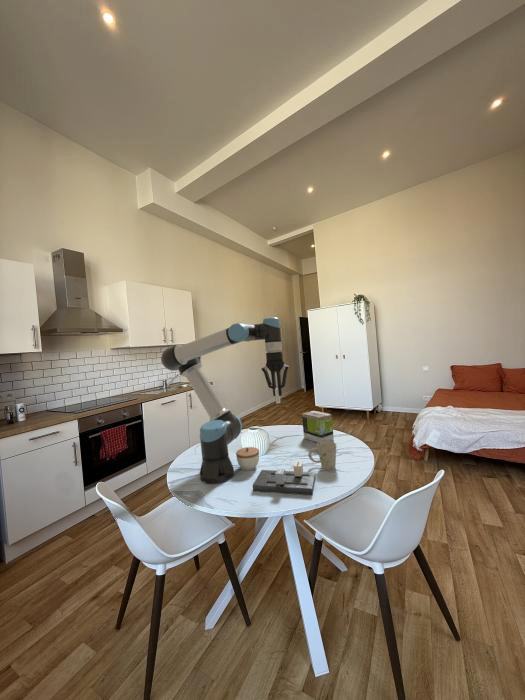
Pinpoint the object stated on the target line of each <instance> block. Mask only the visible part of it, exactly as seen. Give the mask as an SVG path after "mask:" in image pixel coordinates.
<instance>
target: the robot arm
mask: <svg viewBox="0 0 525 700" xmlns="http://www.w3.org/2000/svg"><path fill="white" fill-rule="evenodd" d="M281 331H282V330H281V324H280V319H279V318H278V317H267V318H263V320H262V322H261V323H257V324H256V323H255V324H247V323H242V322H237V323H236V322H235V323H233V324H231V325H230V326H229V327H227V328H225V329H222V330H221V329H220V330H219V331H217V332H214V333H211V334H209V335H206V336H203V337H201V338H198V339H196V340H193V341H190V342H187V343H184V344H177V345H176V344H175V345H173V346H171V347H166V348H165V349H164V350H163V352H162V354H161V357H160V360H161V364H162V365H163V367H164V368H165V369H167V370H168V371H178V372H179V373H180V375H181V377H185V378H186V379H187V381H188V382H189V384H190V386H191V388H192V389H193V391H194V393H195V395H196V397H197V398H198V400H199V401H200V403H201V405H202V407H203V409H204V410H205V411H206V414H207V415H208V416H209V421H207V422H205V423H204V424H202V425H201V426H200V428H199V440H200V449H201V450H200V451H201V456H202V457H201V458H202V461H201V466H200V469H199V470H200V471H199V480H200V482H202V483H204V484H209V485H210V484H212V485H213V484H218V483H219V484H220V483H224V482H226V481H229V480H230V479H231V478H233V476H234V475H235V469H234V466H233V463H232V461H231V459H230V457H229V446H228V445H229V444H231V443H232V442H233V441H234V440H237V438H238V437H239V435H240V434H241V432H242V430H243V424H242V420H241V419H240V417H239V416H237V415H236V414H235V415H234V414H233V413H232V411H231V410H230V409H228V408H226V407H225V405H224V404H223V402H222V401H221V400H220V397H219V396H218V394H217V392H216V391H215V389H214V387H213V386H212V384H211V383H210V381H209V379H208V377H207V376H206V374H205V372H204V371H203V369H202V366H203V364H202V362H201V361H202V356H205V355H208V354H210V353H213V352H216V351H219V350H222V349H224V348H227V347H230V346H234V345H236V344H240V343H241V342H251V341H262V340H264V345H265V352H266V353H265V356H266V359H265V360H266V363H265V365H264V366H263V367H262V368H261V371H262V372H263V374H264V377H265V380H266V383H267V387H268V388H269V389H272V395H273V396H274V397H275V404H277V405H278V404H281V396H282V395H283V392H282V391H283V390H282V389H283V388H285V387H286V384H287V377H288V371H289V369H290V366H289V365H287V364H285V362H284V356H283V355H284V354H283V352H282V350H283V345H282V343H283V342H282V333H281ZM282 369H283V374H282V376H281V371H282ZM269 372H270V374H269ZM270 375H271V376H270ZM270 377H271V378H270ZM276 380H277V381H276Z"/></svg>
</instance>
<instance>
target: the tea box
mask: <svg viewBox="0 0 525 700" xmlns="http://www.w3.org/2000/svg"><path fill="white" fill-rule="evenodd" d="M301 417H302V430H303V439H306V440H309V441H312V442H314V443H317V444H318V443H319V442H323V441H331V442H333V441H334V437H335V436H334V426H333V414H331V413H328V412H322V411H317V410H311V411H307V412H303V413H302V414H301Z"/></svg>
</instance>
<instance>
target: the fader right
mask: <svg viewBox="0 0 525 700" xmlns="http://www.w3.org/2000/svg"><path fill="white" fill-rule="evenodd" d="M275 471H276V473H275V476H276V484H284V483H285V480H286V475H285V471H286V469H285V468H277V470H275Z"/></svg>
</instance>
